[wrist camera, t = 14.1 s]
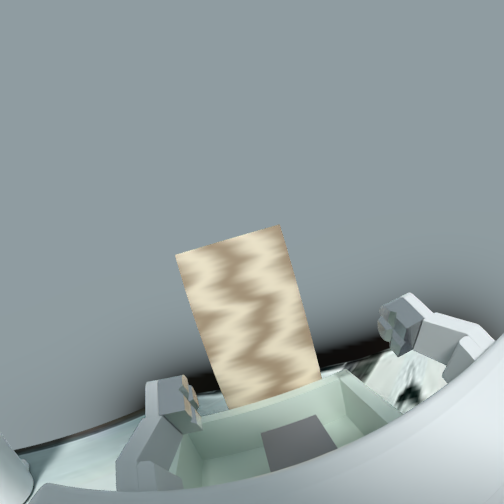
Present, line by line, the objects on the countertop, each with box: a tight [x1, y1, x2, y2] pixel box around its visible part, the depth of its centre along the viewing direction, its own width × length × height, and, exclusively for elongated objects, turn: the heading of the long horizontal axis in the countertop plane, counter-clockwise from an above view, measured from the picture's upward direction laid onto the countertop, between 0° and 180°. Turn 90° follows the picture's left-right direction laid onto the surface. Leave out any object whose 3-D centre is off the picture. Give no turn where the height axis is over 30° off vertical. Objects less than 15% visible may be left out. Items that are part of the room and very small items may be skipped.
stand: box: [175, 225, 322, 410], centre depth 35 cm, size 12×10×26 cm
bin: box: [169, 369, 403, 489], centre depth 16 cm, size 22×26×7 cm
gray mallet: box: [261, 414, 338, 472], centre depth 15 cm, size 6×18×5 cm, turn 7°
